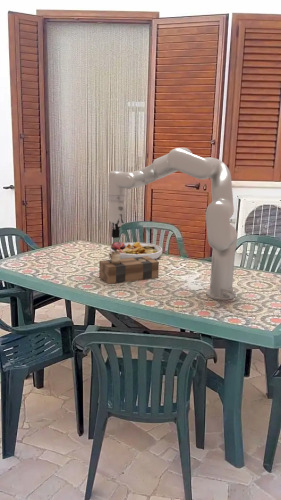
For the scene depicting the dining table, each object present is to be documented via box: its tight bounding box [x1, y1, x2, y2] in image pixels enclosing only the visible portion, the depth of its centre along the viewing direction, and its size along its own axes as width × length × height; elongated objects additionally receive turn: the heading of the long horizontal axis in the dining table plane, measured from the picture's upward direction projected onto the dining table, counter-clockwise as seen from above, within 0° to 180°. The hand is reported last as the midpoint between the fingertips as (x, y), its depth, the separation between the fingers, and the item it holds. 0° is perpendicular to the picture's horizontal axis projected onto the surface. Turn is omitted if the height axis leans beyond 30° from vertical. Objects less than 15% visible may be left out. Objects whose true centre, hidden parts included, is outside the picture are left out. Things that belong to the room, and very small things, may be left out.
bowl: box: [109, 241, 163, 260], centre depth 259 cm, size 30×30×8 cm
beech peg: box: [111, 251, 120, 265], centre depth 214 cm, size 4×4×8 cm
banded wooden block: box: [98, 256, 160, 285], centre depth 218 cm, size 12×26×8 cm, turn 116°
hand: (115, 237), depth 211 cm, fingers closed
